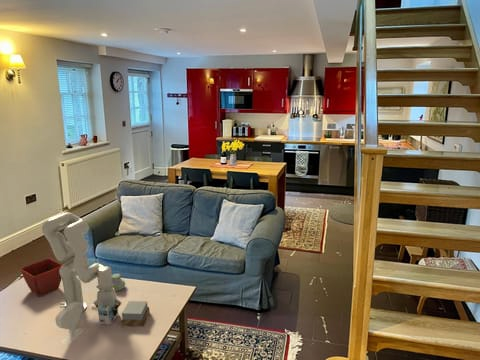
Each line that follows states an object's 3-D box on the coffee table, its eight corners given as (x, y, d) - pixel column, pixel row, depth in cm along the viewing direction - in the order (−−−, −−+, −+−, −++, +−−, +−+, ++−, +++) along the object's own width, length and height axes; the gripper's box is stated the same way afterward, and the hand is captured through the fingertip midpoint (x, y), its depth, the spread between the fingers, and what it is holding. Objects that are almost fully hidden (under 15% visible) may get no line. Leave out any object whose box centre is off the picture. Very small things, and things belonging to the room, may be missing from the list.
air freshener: (106, 291, 239) (104, 277, 237) (113, 284, 247) (111, 271, 245) (121, 293, 237) (119, 279, 235) (127, 286, 245) (126, 273, 242)
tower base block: (122, 327, 204) (122, 320, 203) (129, 313, 217) (129, 306, 216) (143, 327, 204) (143, 320, 203) (149, 313, 216) (149, 306, 215)
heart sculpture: (65, 346, 188) (61, 316, 183) (57, 344, 189) (53, 315, 185) (86, 328, 202) (82, 300, 198) (78, 326, 204) (75, 298, 199)
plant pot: (52, 279, 254) (49, 257, 250) (66, 287, 244) (63, 265, 239) (23, 291, 239) (19, 268, 235) (37, 300, 229) (33, 277, 224)
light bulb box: (109, 325, 205) (107, 308, 202) (98, 323, 206) (96, 307, 203) (119, 314, 215) (117, 298, 212) (108, 312, 216) (107, 296, 214)
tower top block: (122, 319, 204) (121, 313, 203) (129, 306, 215) (128, 301, 214) (141, 319, 203) (141, 313, 202) (147, 307, 215) (147, 301, 214)
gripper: (87, 291, 202) (91, 318, 206) (118, 291, 202) (121, 318, 206) (93, 284, 209) (96, 310, 214) (123, 284, 209) (125, 311, 213)
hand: (108, 314), depth 210 cm, fingers closed on light bulb box, 7 cm apart
